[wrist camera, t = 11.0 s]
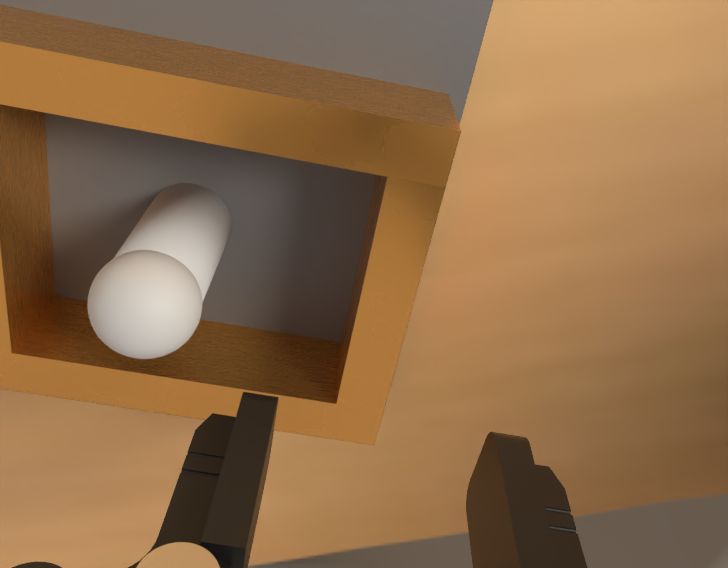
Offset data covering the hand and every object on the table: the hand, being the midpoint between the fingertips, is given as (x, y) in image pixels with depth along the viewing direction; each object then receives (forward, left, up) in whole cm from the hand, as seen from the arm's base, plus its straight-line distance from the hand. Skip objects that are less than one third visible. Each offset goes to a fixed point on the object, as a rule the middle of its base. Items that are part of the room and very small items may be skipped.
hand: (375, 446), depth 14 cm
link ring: (+5, 0, -8) cm, 9 cm away
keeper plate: (+6, -2, -9) cm, 11 cm away
